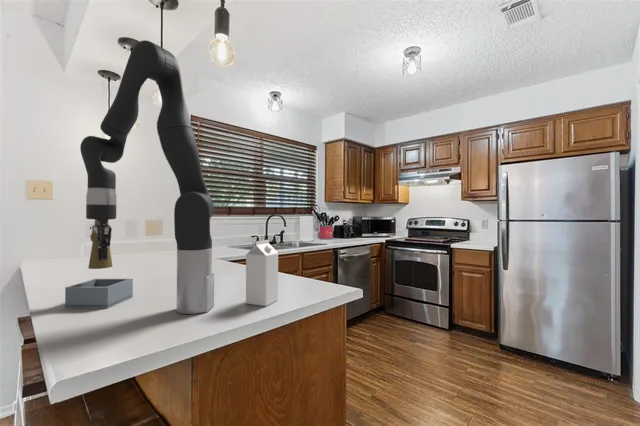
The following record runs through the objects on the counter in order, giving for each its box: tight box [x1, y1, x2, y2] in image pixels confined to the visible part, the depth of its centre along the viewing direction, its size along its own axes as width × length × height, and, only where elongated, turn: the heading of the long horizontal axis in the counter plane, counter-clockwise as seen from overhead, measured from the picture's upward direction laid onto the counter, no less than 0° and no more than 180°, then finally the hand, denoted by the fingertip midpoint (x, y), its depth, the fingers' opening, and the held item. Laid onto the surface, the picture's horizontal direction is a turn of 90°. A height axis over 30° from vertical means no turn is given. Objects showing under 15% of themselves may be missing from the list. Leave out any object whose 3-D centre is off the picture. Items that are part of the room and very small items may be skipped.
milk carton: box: [245, 239, 279, 307], centre depth 94 cm, size 7×7×19 cm
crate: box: [64, 278, 134, 310], centre depth 94 cm, size 12×12×6 cm
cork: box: [88, 232, 113, 270], centre depth 93 cm, size 6×6×11 cm
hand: (101, 259), depth 93 cm, fingers closed on cork, 4 cm apart
